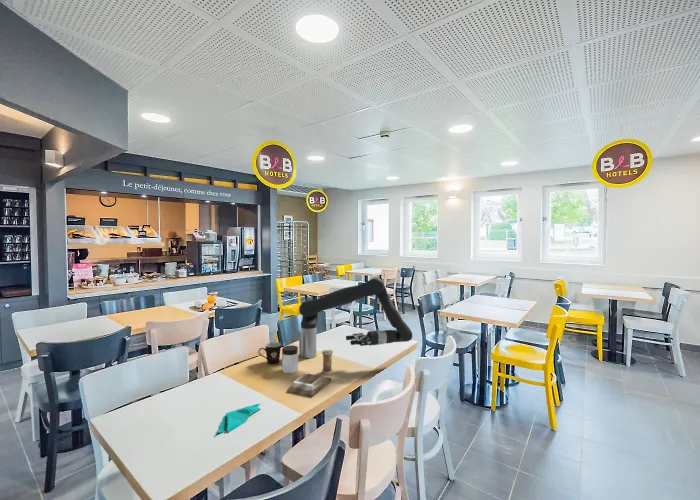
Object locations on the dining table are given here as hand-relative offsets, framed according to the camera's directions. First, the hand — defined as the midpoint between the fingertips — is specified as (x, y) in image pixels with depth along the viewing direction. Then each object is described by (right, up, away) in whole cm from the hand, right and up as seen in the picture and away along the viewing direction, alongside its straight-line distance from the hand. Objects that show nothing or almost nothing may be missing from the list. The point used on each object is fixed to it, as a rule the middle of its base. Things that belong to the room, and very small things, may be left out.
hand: (348, 340), depth 179 cm
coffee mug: (-44, -15, +10) cm, 47 cm away
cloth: (-43, -18, -48) cm, 67 cm away
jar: (-31, -16, -1) cm, 35 cm away
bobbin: (-11, -16, -3) cm, 20 cm away
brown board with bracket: (-18, -16, -19) cm, 31 cm away
